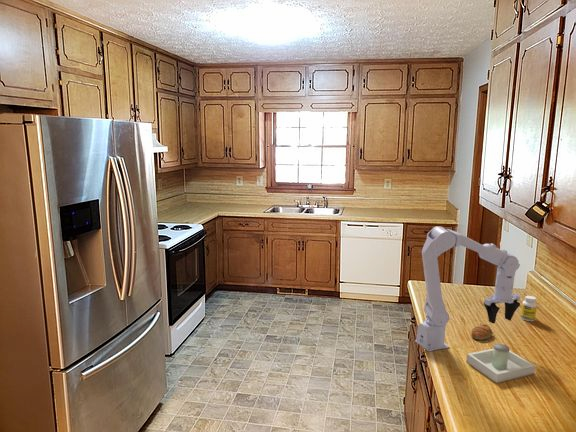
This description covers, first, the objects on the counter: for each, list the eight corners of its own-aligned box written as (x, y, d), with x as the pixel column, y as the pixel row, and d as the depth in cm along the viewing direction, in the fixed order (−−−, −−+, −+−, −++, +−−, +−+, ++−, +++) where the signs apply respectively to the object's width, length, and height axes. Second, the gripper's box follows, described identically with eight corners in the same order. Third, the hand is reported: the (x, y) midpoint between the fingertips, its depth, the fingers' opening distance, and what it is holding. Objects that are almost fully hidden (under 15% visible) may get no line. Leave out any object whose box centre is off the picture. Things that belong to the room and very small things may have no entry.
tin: (498, 370, 137) (501, 351, 135) (488, 363, 141) (490, 344, 140) (510, 369, 138) (512, 349, 136) (499, 361, 142) (502, 342, 141)
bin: (496, 382, 131) (497, 374, 130) (466, 361, 143) (467, 353, 142) (534, 374, 136) (535, 365, 135) (502, 354, 148) (503, 346, 147)
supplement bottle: (521, 320, 176) (524, 298, 174) (519, 315, 181) (522, 294, 179) (535, 322, 174) (539, 300, 172) (533, 317, 179) (536, 296, 177)
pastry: (484, 343, 156) (485, 334, 155) (466, 337, 161) (467, 328, 160) (493, 335, 162) (494, 326, 162) (475, 329, 167) (476, 320, 166)
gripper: (497, 291, 143) (492, 328, 146) (528, 287, 148) (524, 322, 151) (481, 284, 150) (477, 319, 153) (512, 280, 155) (508, 314, 157)
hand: (499, 320), depth 152 cm, fingers open, 7 cm apart
